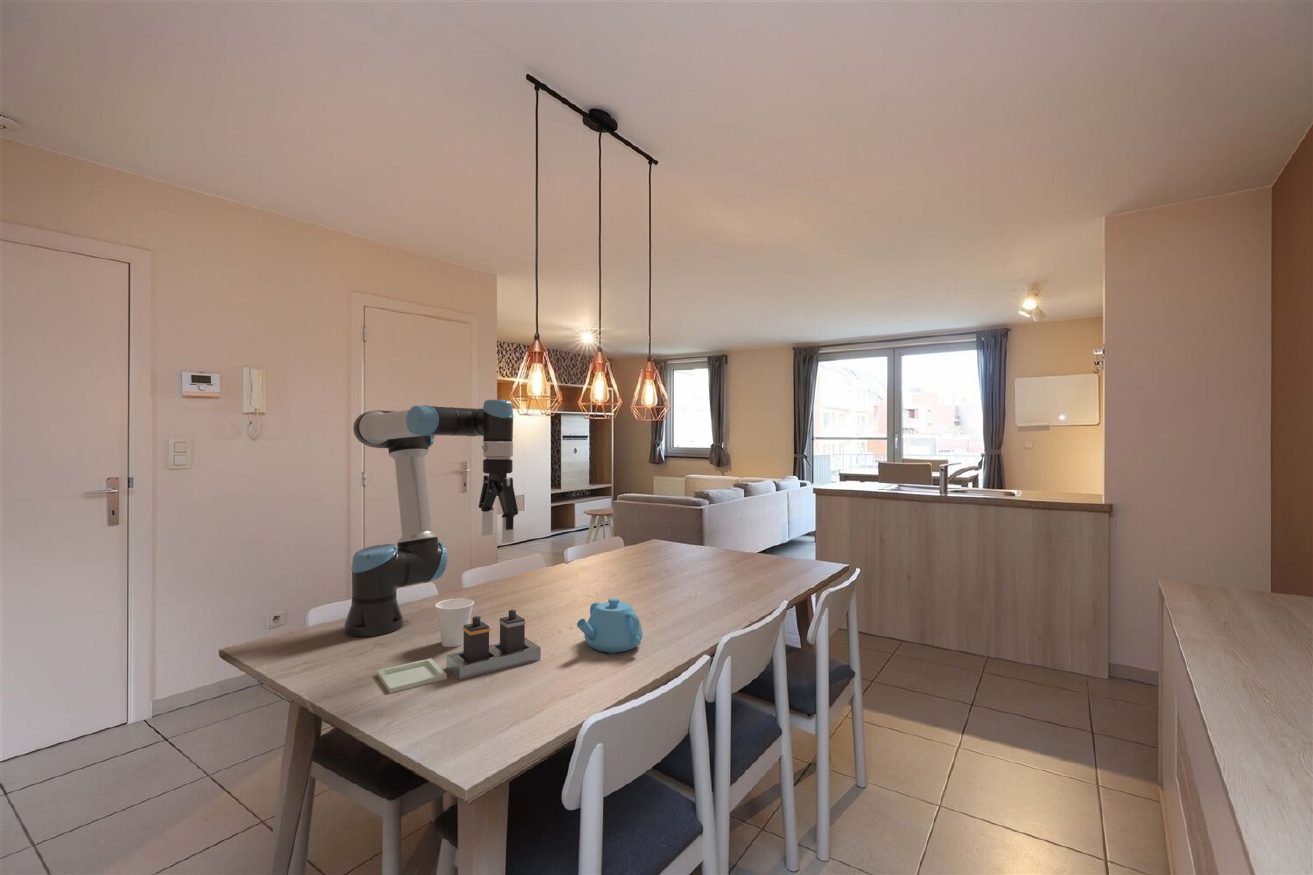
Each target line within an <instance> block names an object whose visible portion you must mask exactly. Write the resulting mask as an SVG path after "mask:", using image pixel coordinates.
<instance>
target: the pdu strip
mask: <svg viewBox="0 0 1313 875" xmlns="http://www.w3.org/2000/svg"><path fill="white" fill-rule="evenodd" d="M463 651H464V650H462V651H458V652H453V653H449V654H446V669H447V670H448V671H449V672H450V673H451V674H453V676H455V677H456V679H458V681H463V680H467V679H471V678H474V677H479V676H482V675H485V674H490V673H494V672H498V671H502V670H505V669H509V668H513V667H517V666H521V665H522V666H523V665H525V664H529V663H533V662H536V661H540V660H541V657H542V656H541V646H539V645H537V643H535V642H533V641H532V640H530V639H528V638H527V637H525V646H524V649H523V650H519V651H515V652H511V653H507V654H504V653H503V652H502V651H500V642H498V643H497V642H496V643H494V644H489V658H486V659H481V660H477V661H473V662H469V663H467V662H466V661H465V660H464V659H463Z"/></svg>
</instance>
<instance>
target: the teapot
mask: <svg viewBox="0 0 1313 875" xmlns="http://www.w3.org/2000/svg"><path fill="white" fill-rule="evenodd" d="M607 600H608V601H607V602H602V603H601V602H600V601H596V602H593V603H592V604H590V606H589V607H590V608H589V614H590V615H589V618H588V619H587V620H586V619H585V618H580V619H578V621H577V623H576V627H577V628H578V629H579V630H580V631H581V632H582V633H583V634H584V639H585V642H587V644H588V646H590V647H591V649H593V650H595V651H599V652H604V653H609V654H613V655H614V654H617V653H619V652H626V651H630V650H632V649H634V648H635V647H638V646H640V645H641V643H642V642H641V641H642V639H643V627H642V624H641V620H640V618H639V617H638V615H637V613H636V611H635V610H634V608H633V607H632V606H631V604H629V603H627V602H624V601H620V600H621V599H620V598H618V597H611V598H608V599H607Z"/></svg>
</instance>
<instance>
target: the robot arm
mask: <svg viewBox="0 0 1313 875" xmlns="http://www.w3.org/2000/svg"><path fill="white" fill-rule="evenodd" d="M513 406H514V404H513V403H512V401H511V400H507V399H486V400H485V401H484V402H483V406H482V408H470V407H469V408H467V407H452V406H451V407H448V406H445V407H444V406H435V405H434V406H433V405H429V404H428V405H427V404H426V405H422V404H421V405H413V406H411V408H410V409H405V410H398V411H396V410H395V411H394V410H369V411H366V412H363V413H362V414H359V415H358V416H357V417H356V418H355V420H354V423H353V428H352V429H353V434H354V436H355V439H357V441H358V442H360V443H361V444H363V445H364V446H367V447H370V448H376V449H387V450H388V455H389V457H390V458H392V459H393V460H394V465H395V466H394V467H395V477H396V486H397V496H398V497H397V498H398V499H397V500H398V506H399V508H398V509H399V518H400V520H399V521H400V526H401V527H400V528H401V529H400V530H401V537H400V538H399V539H398V541H397V545H396V544H394V543H384V544H377V545H376V544H375V545H371V546H368V547H367V546H366V547H365V548H362V549H359V550H358V551H357V552H356V553H354V554H353V556H352V563H351V567H350V568H351V605H350V607H349V610H348V613H347V615H346V619H345V621H344V622H345V623H344V626H343V629H344V630H343V631H344V632H343V633H344V634H345V635H347V636H349V637H354V638H355V637H356V638H365V637H367V638H368V637H375V636H382V635H386V634H390V633H393V632H395V631H398V630H400V629H401V628H402V627H403V624H404V623H403V622H404V620H403V619H404V618H403V614H402V611H401V608H400V605H399V602H398V600H397V589H399V588H405V587H409V586H414V585H418V584H419V585H420V584H427V583H430V582H432V581H436V580H438V579H440V578H441V577H442V576H443V575H444V573H445V571H446V570H447V566H448V561H449V560H448V558H449V556H448V555H449V554H448V549H447V548H446V545H445V543H443V542H441V541H439V539H438V538H439V537H438V535H437V534H435V533H434V532H433V531H432V530H433V529H432V521H431V511H430V503H429V502H430V501H429V492H428V483H427V474H426V473H427V472H426V471H427V470H426V466H425V465H426V462H425V456H426V455H427V454H428V453H429V448H431V447H432V446H433V444H434V442H435V440H434V439H435V437H436V436H451V437H452V436H455V437H458V436H459V437H462V436H463V437H483V438H482V440H483V441H482V442H483V445H482V446H481V449H482V450H483V453H482V454H483V457H484V459H483V460H482V472H483V473H484V474H486V475H483V480H482V481H483V482H482V487H481V488H482V489H481V492H480V498H479V503H478V508H479V509H481V517H482V518H481V520H482V521H481V536H482V537H485V536H486V537H487V536H493V535H494V533H493V532H494V528H493V527H494V523H493V522H494V507H493V505H494V504H495V501H496V498H497V497H498V500H499V503H500V506H501V510H502V514H501V519H502V520H501V523H502V526H501V528H502V530H501V533H502V534H501V535H502V537H501V543H502V544H506V543H507V544H508V543H514V532H515V531H514V529H515V528H514V524H515V522H514V521H515V520H514V517H516V516H517V515H518V514H519V510H518V505H517V499H516V493H515V489H514V479H513V478H514V477H507V475H508V474H512V473H513V469H514V468H513V459H512V457H513V456H514V442H513V439H514V432H513V431H514V409H513Z"/></svg>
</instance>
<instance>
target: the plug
mask: <svg viewBox="0 0 1313 875" xmlns="http://www.w3.org/2000/svg"><path fill="white" fill-rule="evenodd" d="M481 618H482V616H480V615H477V616H476V615H475V616H473V617H472V623H470V624H467V625H464V627H463V630H464V645H463V650H462V651H463V659H464V660H465V661H466V662H467V663H469V662H473V661H477V660H481V659H486V658H489V645H490V631H491V628H490V625H488V624H486V623H485V622H483V621H481Z"/></svg>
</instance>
